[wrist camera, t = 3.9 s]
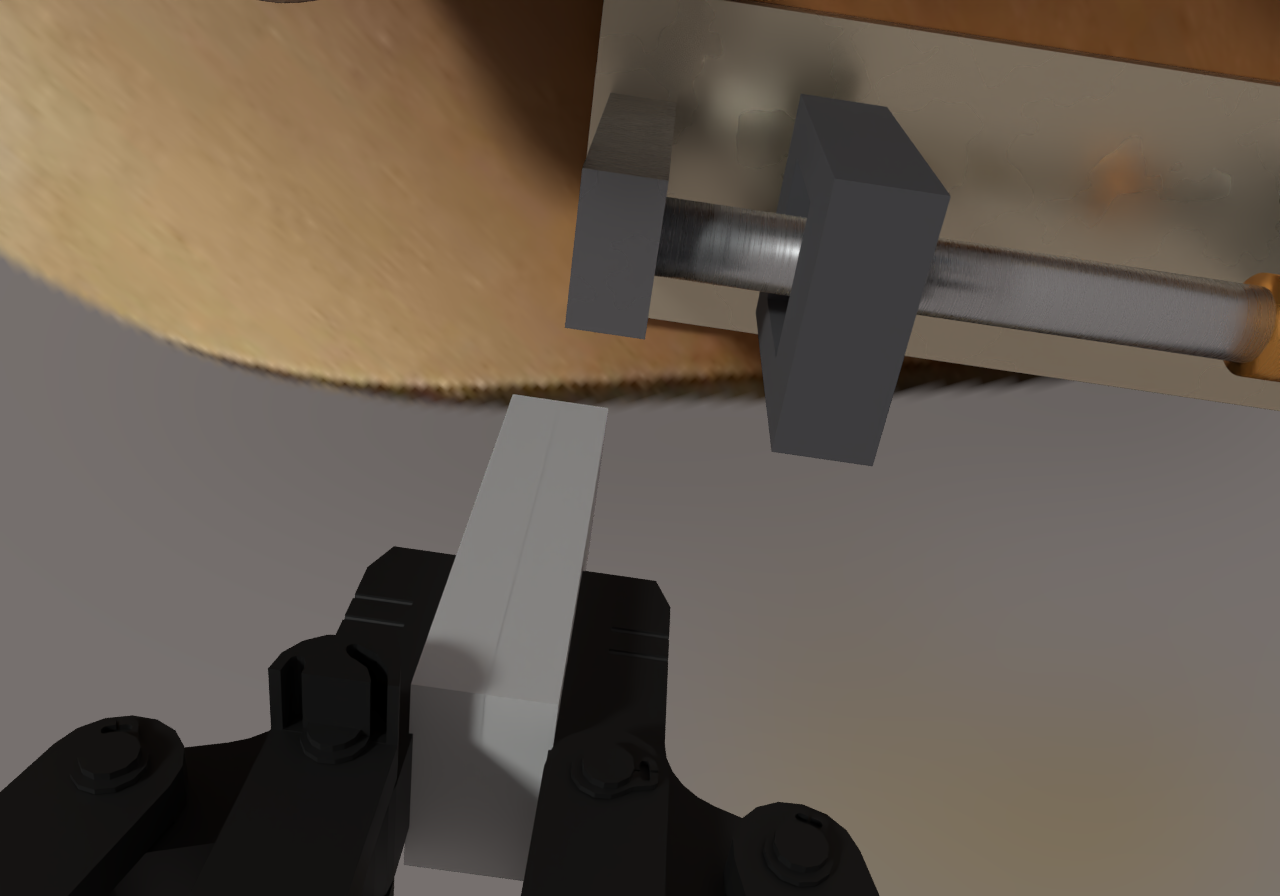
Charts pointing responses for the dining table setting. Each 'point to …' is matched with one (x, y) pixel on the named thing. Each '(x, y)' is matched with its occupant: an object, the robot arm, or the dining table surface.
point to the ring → (847, 278)
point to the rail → (971, 173)
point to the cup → (287, 1)
